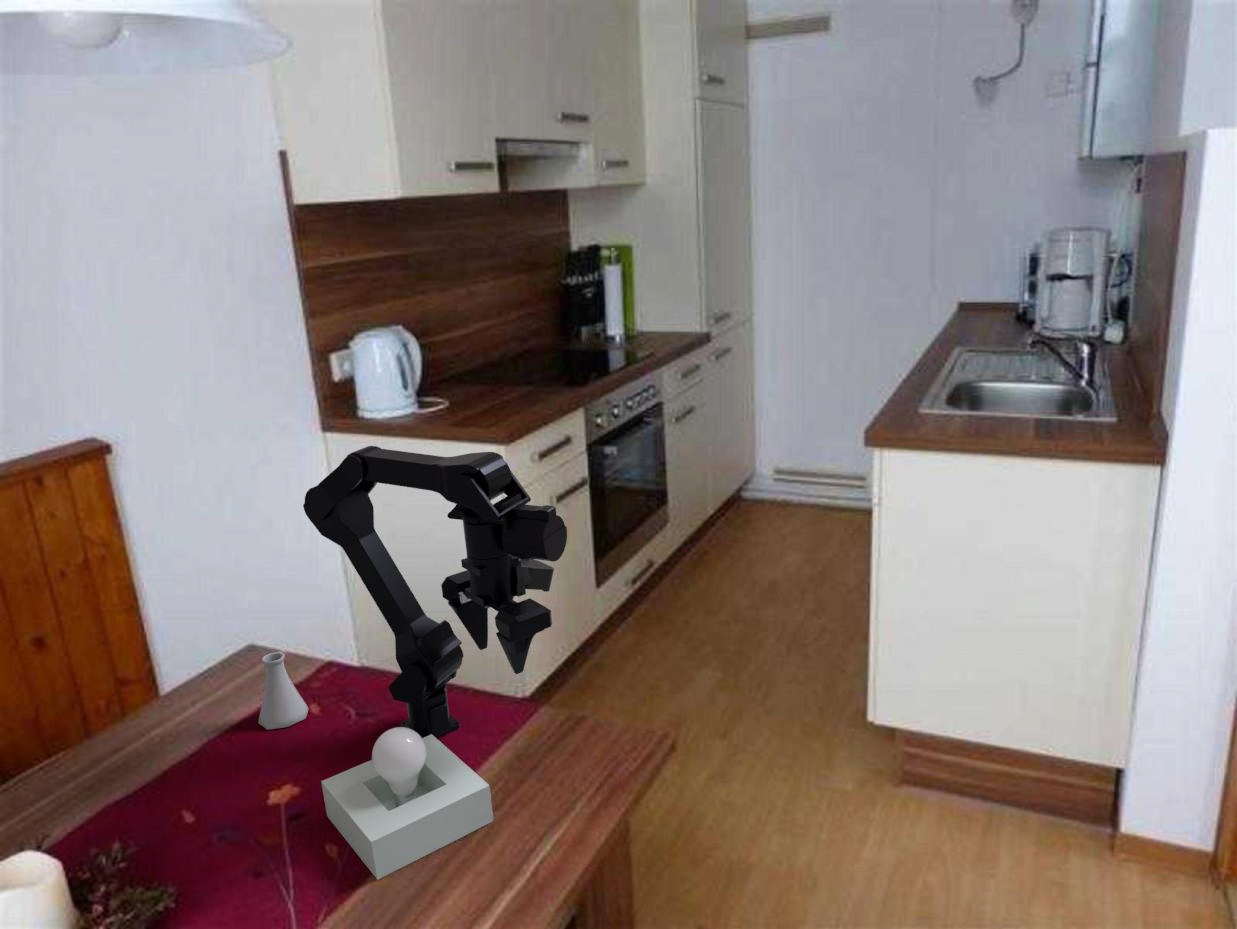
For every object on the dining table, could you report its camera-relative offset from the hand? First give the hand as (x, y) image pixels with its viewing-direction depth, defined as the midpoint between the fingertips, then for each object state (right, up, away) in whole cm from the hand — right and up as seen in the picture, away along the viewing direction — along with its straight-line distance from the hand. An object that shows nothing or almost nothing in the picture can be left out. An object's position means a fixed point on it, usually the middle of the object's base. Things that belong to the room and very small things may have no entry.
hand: (500, 660), depth 125 cm
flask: (-34, -12, +15) cm, 39 cm away
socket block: (-10, -17, -10) cm, 22 cm away
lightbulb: (-10, -16, -10) cm, 22 cm away
